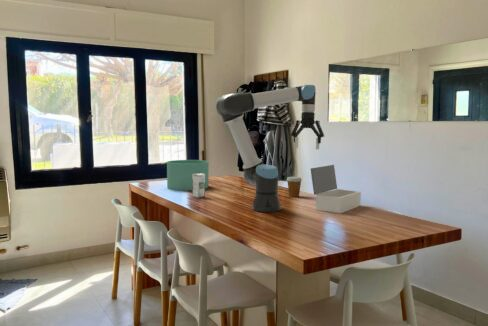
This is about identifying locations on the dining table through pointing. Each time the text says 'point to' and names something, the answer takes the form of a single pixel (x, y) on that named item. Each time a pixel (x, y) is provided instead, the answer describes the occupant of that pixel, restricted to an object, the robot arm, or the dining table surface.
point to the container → (185, 173)
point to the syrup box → (198, 185)
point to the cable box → (338, 200)
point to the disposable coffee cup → (294, 186)
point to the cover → (323, 179)
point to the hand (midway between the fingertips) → (306, 148)
